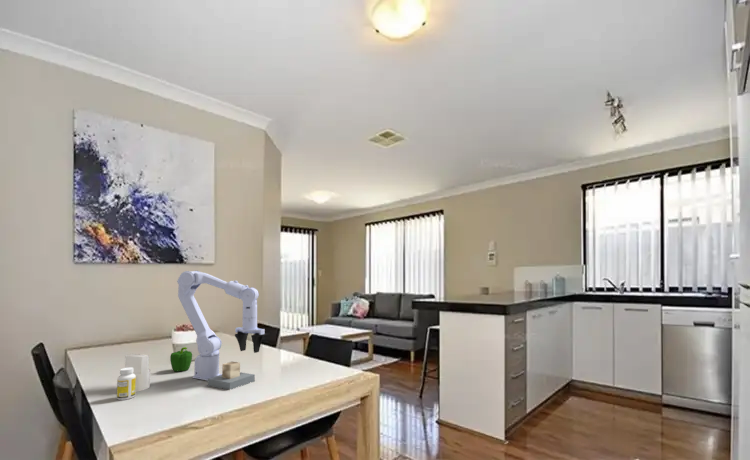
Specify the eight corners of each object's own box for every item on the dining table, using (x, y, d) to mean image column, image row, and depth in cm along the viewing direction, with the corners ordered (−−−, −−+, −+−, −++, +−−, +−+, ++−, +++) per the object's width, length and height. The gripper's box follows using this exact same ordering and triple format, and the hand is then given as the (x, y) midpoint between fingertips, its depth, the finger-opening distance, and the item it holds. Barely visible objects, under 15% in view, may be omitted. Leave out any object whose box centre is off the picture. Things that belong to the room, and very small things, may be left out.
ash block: (222, 377, 152) (222, 364, 153) (231, 374, 156) (231, 361, 156) (230, 378, 150) (230, 365, 150) (239, 375, 154) (240, 362, 154)
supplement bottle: (131, 394, 142) (132, 365, 143) (137, 397, 139) (138, 368, 139) (114, 398, 138) (115, 369, 139) (120, 401, 134) (121, 371, 135)
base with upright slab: (115, 390, 146) (117, 357, 147) (137, 383, 155) (138, 352, 156) (133, 393, 143) (134, 358, 144) (155, 385, 152) (156, 353, 153)
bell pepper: (166, 371, 173) (167, 347, 174) (186, 367, 180) (186, 344, 181) (175, 374, 168) (175, 349, 169) (194, 370, 174) (195, 346, 175)
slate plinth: (207, 385, 151) (207, 378, 151) (232, 377, 161) (233, 371, 161) (229, 389, 145) (229, 382, 145) (254, 381, 155) (254, 374, 155)
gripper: (229, 317, 164) (229, 351, 163) (255, 319, 157) (255, 355, 156) (243, 315, 170) (242, 348, 169) (268, 317, 163) (268, 351, 162)
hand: (249, 351), depth 163 cm, fingers open, 7 cm apart
